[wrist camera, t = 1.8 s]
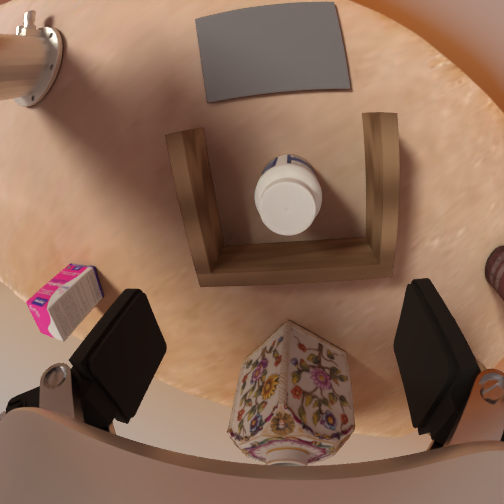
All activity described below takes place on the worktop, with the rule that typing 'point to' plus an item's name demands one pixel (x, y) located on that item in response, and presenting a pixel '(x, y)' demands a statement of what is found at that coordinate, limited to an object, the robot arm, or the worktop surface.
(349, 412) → the decorative jar
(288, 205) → the pill bottle
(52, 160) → the worktop surface
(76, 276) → the supplement box
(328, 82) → the mat
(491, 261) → the can
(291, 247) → the open box
